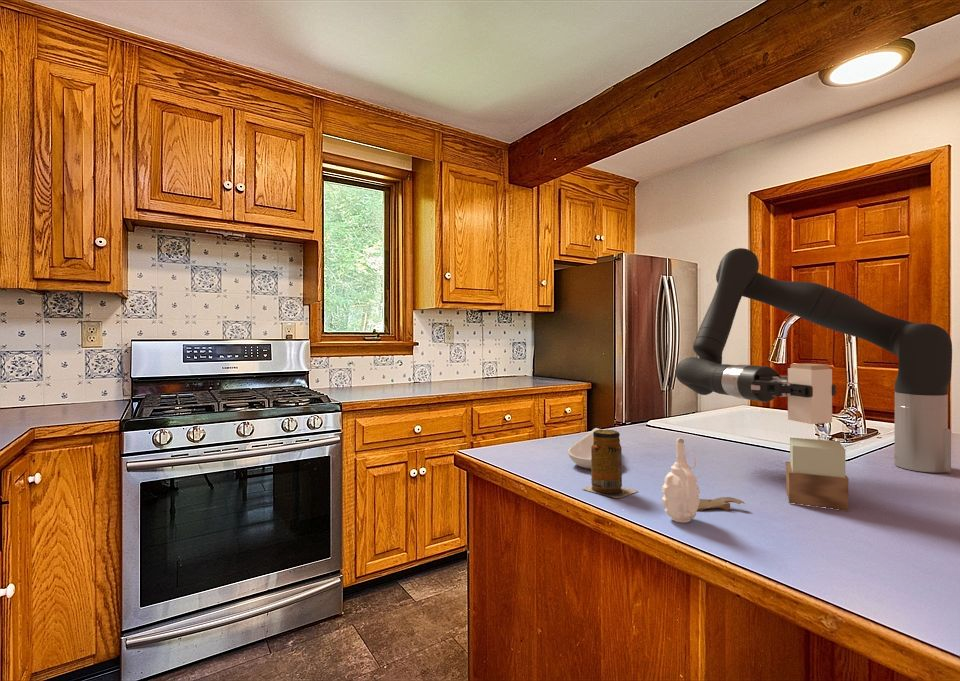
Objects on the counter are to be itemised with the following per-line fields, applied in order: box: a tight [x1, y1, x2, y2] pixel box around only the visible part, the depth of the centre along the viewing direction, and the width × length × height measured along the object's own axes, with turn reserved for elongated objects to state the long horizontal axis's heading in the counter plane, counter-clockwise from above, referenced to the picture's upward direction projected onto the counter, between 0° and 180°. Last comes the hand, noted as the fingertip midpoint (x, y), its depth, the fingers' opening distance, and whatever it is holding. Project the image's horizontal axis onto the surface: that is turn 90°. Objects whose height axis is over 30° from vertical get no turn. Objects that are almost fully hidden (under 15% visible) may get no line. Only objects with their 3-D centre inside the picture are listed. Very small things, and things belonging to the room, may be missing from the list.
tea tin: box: [787, 363, 833, 425], centre depth 96 cm, size 5×5×11 cm
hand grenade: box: [661, 437, 701, 524], centre depth 86 cm, size 8×6×14 cm
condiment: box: [582, 429, 638, 499], centre depth 103 cm, size 7×8×12 cm
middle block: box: [789, 437, 846, 478], centre depth 95 cm, size 8×8×5 cm
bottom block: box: [785, 461, 850, 512], centre depth 96 cm, size 9×9×6 cm
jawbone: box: [697, 496, 745, 512], centre depth 99 cm, size 9×20×2 cm, turn 19°
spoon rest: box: [567, 427, 609, 470], centre depth 127 cm, size 24×12×7 cm, turn 158°
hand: (822, 391), depth 94 cm, fingers closed on tea tin, 5 cm apart
